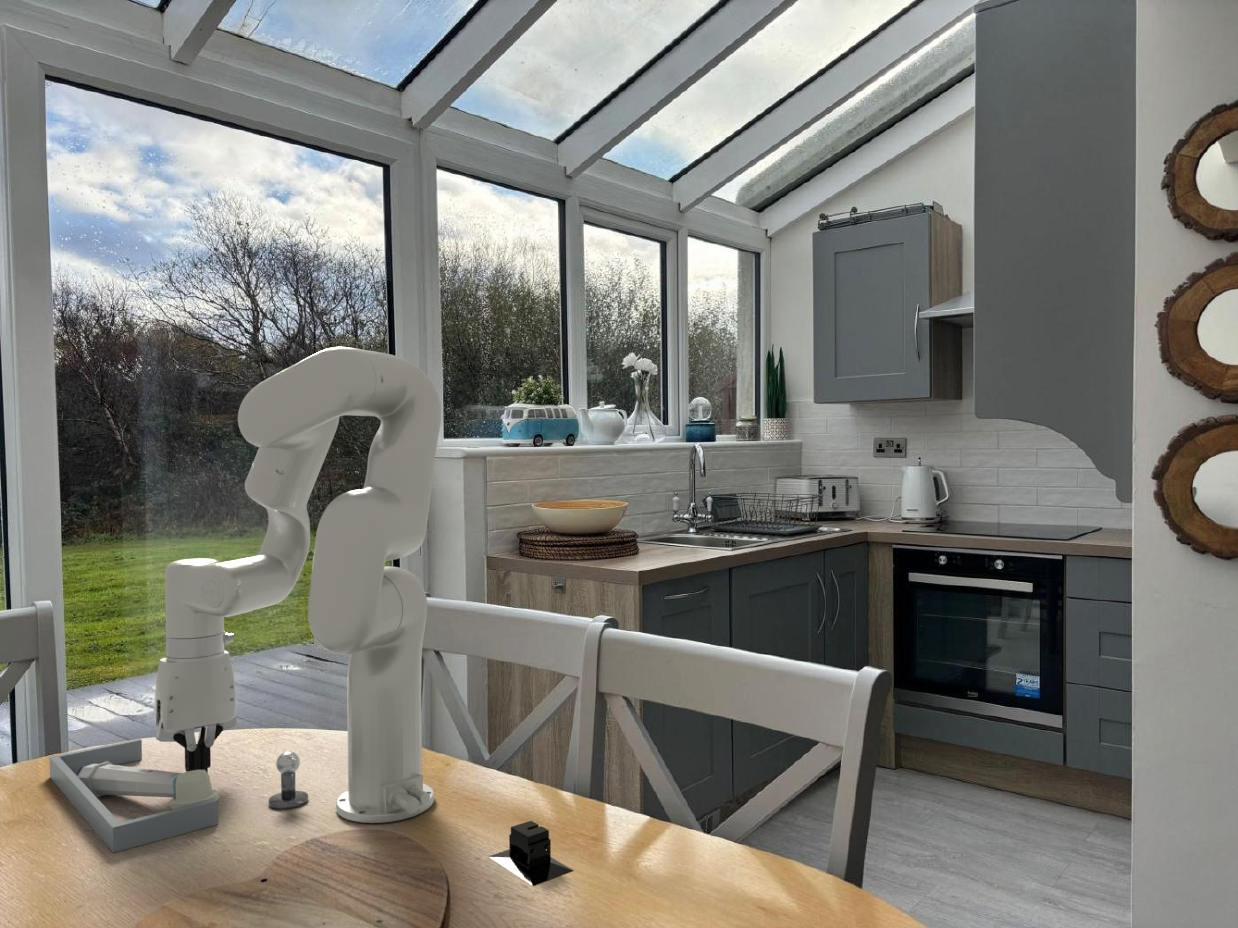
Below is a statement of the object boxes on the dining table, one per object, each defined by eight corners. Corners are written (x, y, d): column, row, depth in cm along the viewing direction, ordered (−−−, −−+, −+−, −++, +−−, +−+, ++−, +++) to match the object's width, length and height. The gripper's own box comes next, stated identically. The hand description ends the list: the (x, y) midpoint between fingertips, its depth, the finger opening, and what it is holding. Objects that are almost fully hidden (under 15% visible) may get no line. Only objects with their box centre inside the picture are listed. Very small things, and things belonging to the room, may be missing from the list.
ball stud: (314, 802, 124) (313, 751, 124) (277, 812, 121) (276, 760, 120) (298, 792, 128) (298, 743, 127) (262, 801, 124) (262, 751, 124)
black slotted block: (587, 879, 103) (587, 837, 103) (533, 899, 98) (532, 856, 98) (525, 841, 113) (525, 803, 113) (473, 858, 108) (473, 819, 108)
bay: (218, 824, 117) (217, 800, 117) (113, 852, 109) (112, 827, 109) (140, 757, 142) (139, 738, 142) (49, 777, 134) (49, 756, 134)
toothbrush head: (103, 757, 131) (224, 759, 120) (108, 804, 131) (230, 810, 120) (67, 768, 127) (189, 772, 115) (72, 817, 127) (195, 825, 115)
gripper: (238, 634, 139) (240, 756, 139) (130, 650, 129) (132, 781, 129) (258, 642, 133) (260, 768, 134) (147, 659, 123) (149, 796, 124)
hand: (198, 774), depth 131 cm, fingers closed
